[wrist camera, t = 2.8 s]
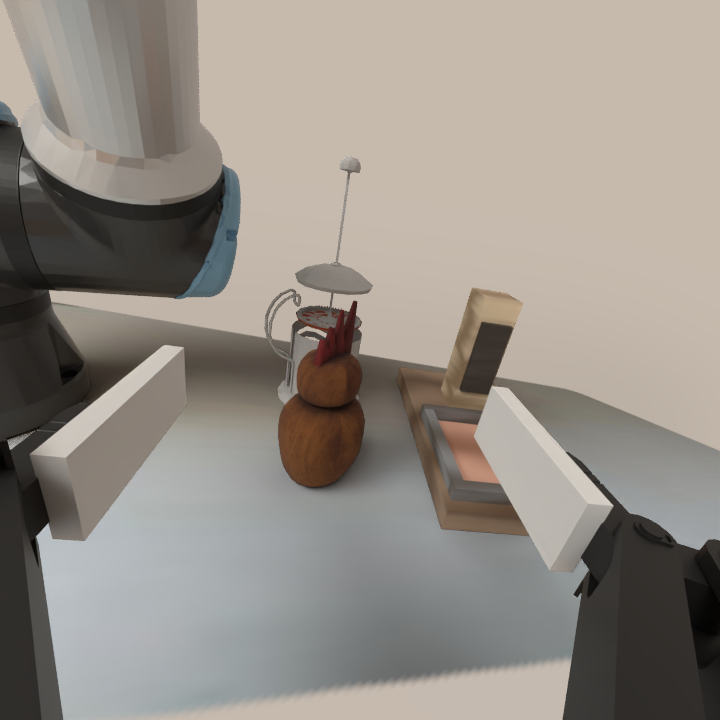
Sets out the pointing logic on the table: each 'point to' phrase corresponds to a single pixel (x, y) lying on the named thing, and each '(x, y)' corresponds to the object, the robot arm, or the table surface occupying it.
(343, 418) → the wooden figurine
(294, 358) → the french press
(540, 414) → the table surface
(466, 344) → the wooden tray stand
